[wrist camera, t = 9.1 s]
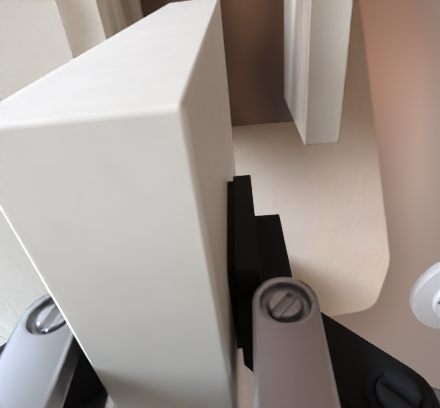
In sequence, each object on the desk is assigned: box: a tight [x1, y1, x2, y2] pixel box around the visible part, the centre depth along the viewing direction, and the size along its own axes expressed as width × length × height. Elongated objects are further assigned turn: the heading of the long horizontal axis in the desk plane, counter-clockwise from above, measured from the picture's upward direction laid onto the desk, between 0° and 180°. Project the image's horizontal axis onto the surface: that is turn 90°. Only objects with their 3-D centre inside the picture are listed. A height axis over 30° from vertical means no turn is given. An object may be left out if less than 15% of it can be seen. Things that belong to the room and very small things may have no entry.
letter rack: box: [55, 0, 353, 145], centre depth 26 cm, size 17×16×12 cm
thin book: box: [0, 0, 247, 408], centre depth 13 cm, size 2×11×15 cm, turn 6°
